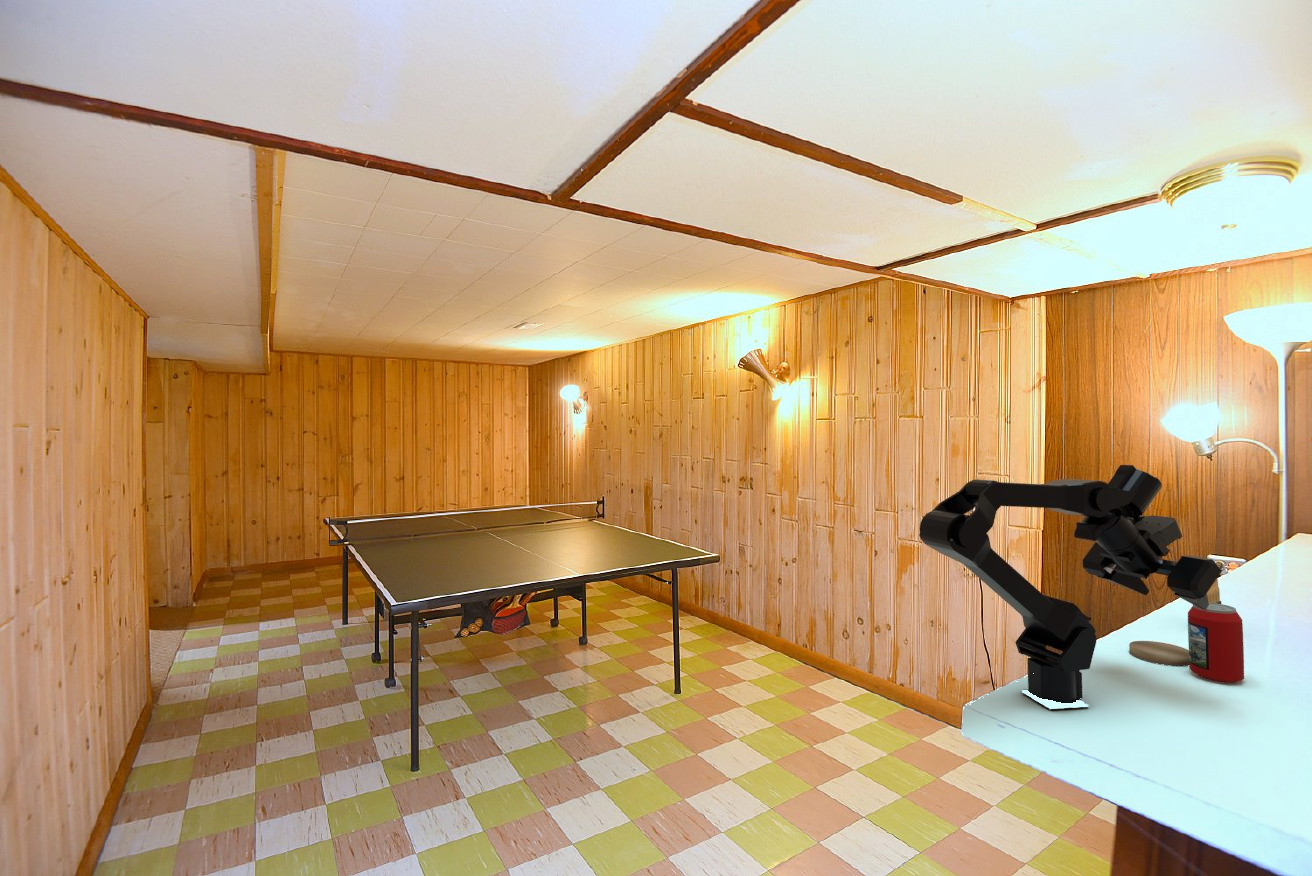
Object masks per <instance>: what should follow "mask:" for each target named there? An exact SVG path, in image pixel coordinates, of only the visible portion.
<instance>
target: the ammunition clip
mask: <svg viewBox="0 0 1312 876" xmlns="http://www.w3.org/2000/svg"><path fill="white" fill-rule="evenodd" d="M1220 596H1221V595H1220V587H1219V581H1218V577H1217V579H1216V580H1215V582H1214V583H1213V585H1212V586H1211V588H1210V589H1209V591H1208V592H1207V598H1208V602H1209V603H1217V604H1222V601H1221V597H1220Z"/></svg>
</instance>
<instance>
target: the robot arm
mask: <svg viewBox="0 0 1312 876" xmlns="http://www.w3.org/2000/svg"><path fill="white" fill-rule="evenodd" d="M1162 487H1163V484H1162V482H1161V480H1160V479H1159V478H1158V477H1155V476H1153V475H1152V474H1150V473H1148V472H1146V471H1143V470H1141V469H1137V468H1136V467H1135V466H1134V465H1133V464H1119V466H1118V467H1117V469H1116V470H1115V473H1114V475H1113V476H1112V478H1111V479H1110V480H1109V482H1105V481H1103V480H1095V479H1094V480H1093V479H1091V480H1090V479H1074V478H1064V479H1063V478H1062V479H1056V480H1051V481H1048V482H1046V483H1039V484H1038V483H1025V482H1024V483H1022V482H1003V481H1002V482H1001V481H997V480H990V479H979V478H976V479H972V480H969V481H968V482H967V483H965V484H964V486H962V487H961V488H960V490H958V491H957V492H955V493H954V494H952V495H950V496H949V497H947V498H945V499H944V500H941V502H939V503H938V504H937V505H936V506H935V507H934V508H933V509H932V510H931V511H929V512H927V513H926V514H925V515H924V516H923V517H922V519H921V520H920V524H919V535H918V536H919V538H920V540H921V541H922V542H923V544H924V545H926V546H927V547H928V548H931V549H932V550H933V551H936V552H937V553H940V554H942V555H944V556H946V557H948V558H950V559H952V560H954V561H956V562H959V563H960V564H962V565H963V566H965V568H967V569H968V570H969V571H970V572H971V573H973V574H974V575H975V576H976V577H977V578H978V579H979V580H981V582H983V583H984V584H986V585H987V586H988V587H989V588H990V589H991V590H992V591H993V592H994V593H996V595H997V596H999V597H1000V598H1001V599H1003V601H1005V602H1006V603H1007V604H1008V605H1010V606H1011V607H1012V608H1013V609H1014V610H1015V611H1016V612H1017V613H1019V615H1021V618H1022V622H1023V626H1024V629H1023V631H1022V632H1021V634H1020V635H1019V636H1018V637H1017V639H1016V641H1015V645H1016V648H1017V652H1018V653H1019V654H1021V655H1024V656H1027V657H1028V658H1026V659H1027V660H1026V661H1027V685H1028V686H1027V689H1028V691H1029V692H1030V693H1032V694H1033V695H1036V696H1037V697H1039V698H1042V699H1048V700H1053V701H1056V702H1061V703H1073V702H1076V700H1079V699H1080V698H1082V699H1083V698H1084V697H1083V696H1084V695H1083V673H1082V672H1081V671H1084V670H1085V671H1086V670H1090V669H1091V664H1092V660H1093V656H1094V653H1095V649H1096V645H1097V635H1096V633H1097V630H1096V628H1095V627H1094V625H1093V624H1092V622H1090V621H1091V620H1092V617H1091V616H1090V617H1089V616H1087V615H1086V614H1085V613H1083V612H1082V610H1081V609H1080V608H1079V606H1077V604H1075V603H1073V602H1071V601H1067V600H1063V599H1060V598H1057V597H1052V596H1050V595H1046V594H1043V593H1042V592H1041V591H1040V590H1039V589H1037V588H1036V587H1035V586H1034V585H1033V584H1032V583H1031V582H1030V581H1028V580H1027V579H1026V578H1025V577H1024V576H1023V575H1022V574H1021V573H1019V572H1018V571H1017V570H1016V569H1015V568H1014V567H1013V566H1012V565H1010V563H1008V561H1006V560H1005V559H1004V558H1003V557H1002V556H1001V555H999V553H998V552H996V551H995V550H994V549H993V548H992V547H991V541H990V536H989V534H988V533H989V531H990V530H991V529H992V528H993V527H994V523H995V520H996V519H995V518H996V516H997V515H996V514H997V511H998V510H999V509H1000V508H1001V507H1017V508H1019V507H1020V508H1039V509H1041V508H1042V509H1043V508H1044V509H1047V510H1049V511H1053V512H1057V513H1061V514H1066V515H1075V516H1083V517H1082V519H1081V520H1080V521H1078V522H1077V521H1076V525H1075V526H1076V528H1075V529H1074V532H1073V537H1074V538H1075V539H1079V540H1083V541H1084V540H1085V541H1092V542H1095V543H1094V544H1093V545H1092V546H1091V548H1090V549H1089V550H1088V552H1087V553H1086V554H1085V556H1084V557H1083V559H1082V561H1081V563H1082V568H1083V570H1085V571H1086V573H1088V575H1093V576H1096V577H1097V578H1099V579H1103V580H1105V581H1107V582H1110V583H1113V584H1115V585H1118V586H1121V587H1123V588H1126V589H1127V590H1130V591H1132V592H1136V593H1137V594H1141V595H1142V596H1147V595H1148V594H1149V593H1150V590H1149V588H1148V586H1147V584H1146V583H1145V582H1144V581H1143V579H1144V580H1147V579H1148V577H1149V576H1150V575H1153V574H1157V575H1163V576H1166V585H1167V587H1168V588H1169V590H1171V591H1172V592H1174V594H1173V595H1174V596H1176V597H1178V598H1179V599H1182V600H1184V601H1186V602H1188V603H1190V604H1191V605H1192V606H1193V605H1195V606H1197V607H1199V608H1201V609H1204V610H1206V609H1207V607H1208V606H1209V602H1208V598H1207V592H1208V591H1209V589H1210V588H1211V586H1212V585H1213V583H1214V582H1215V580H1216V579H1217V578H1218V577H1220V575H1221V573H1222V571H1223V570H1222V569H1221V566H1219V565H1218V564H1217V563H1216V561H1214V559H1212V558H1205V557H1199V556H1194V555H1182V556H1181V557H1180V558H1179V560H1178V561H1173V560H1167V559H1163V557H1167V556H1168V555H1169V554H1170V552H1171V550H1170V549H1169V548H1168V546H1170V545H1171V544H1172V543H1174V542H1175V541H1177V540H1180V539H1182V538H1183V534H1182V531H1181V529H1180V526H1179V524H1178V522H1177V519H1176V518H1175V517H1170V516H1164V515H1163V516H1162V515H1161V516H1160V515H1144V513H1145V512H1146V511H1147V509H1148V507H1150V505H1151V504H1152V502H1153V501H1154V499H1155V498H1156V497H1157V495H1158V493H1159V492H1160V491H1161V489H1162ZM972 510H973V511H972ZM970 511H972V512H971V513H970V514H969V515H968V514H967V513H968V512H970ZM1047 647H1050V648H1052V649H1049V648H1047ZM1053 649H1055V650H1058V651H1060V652H1061V653H1060V652H1057V651H1054V650H1053ZM1033 673H1034V674H1033ZM1080 700H1081V699H1080Z"/></svg>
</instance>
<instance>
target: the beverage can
mask: <svg viewBox="0 0 1312 876" xmlns="http://www.w3.org/2000/svg"><path fill="white" fill-rule="evenodd" d="M1187 632H1188V633H1187V636H1188V637H1187V639H1188V640H1187V641H1188V650H1189V665H1190V666H1189V670H1190V671H1191V672H1192V673H1194V674H1196V676H1197V677H1199V678H1201V679H1203V680H1206V681H1210V682H1213V683H1218V684H1219V683H1220V684H1236V683H1238V682H1241V681H1244V680H1245V655H1244V654H1245V653H1244V648H1245V647H1244V627H1243V619H1242V617H1241V616H1240V614H1239V613H1238V611H1237V609H1236V608H1235V607H1233V606H1232V605H1227V604H1222V603H1221V604H1217V603H1209V606H1208V607H1207V609H1206V610H1204V609H1201V608H1199V607H1197V606H1195V605H1193V604H1192V606H1191V608H1190V609H1189V610H1188V612H1187Z"/></svg>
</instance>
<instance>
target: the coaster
mask: <svg viewBox="0 0 1312 876" xmlns="http://www.w3.org/2000/svg"><path fill="white" fill-rule="evenodd" d="M1128 647H1129V651H1128V652H1129V654H1130V655H1131V656H1133V657H1134V658H1136V659H1139V660H1141V661H1144V662H1148V663H1152V664H1156V663H1158V664H1157V665H1161V664H1164V665H1163V666H1168V665H1171V666H1170V667H1187V666H1188V665H1189V649H1188V648H1185V647H1182V646H1179V645H1175V644H1171V643H1167V642H1161V641H1153V640H1135V641H1131V642H1130V643H1128ZM1188 667H1189V666H1188Z"/></svg>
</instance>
